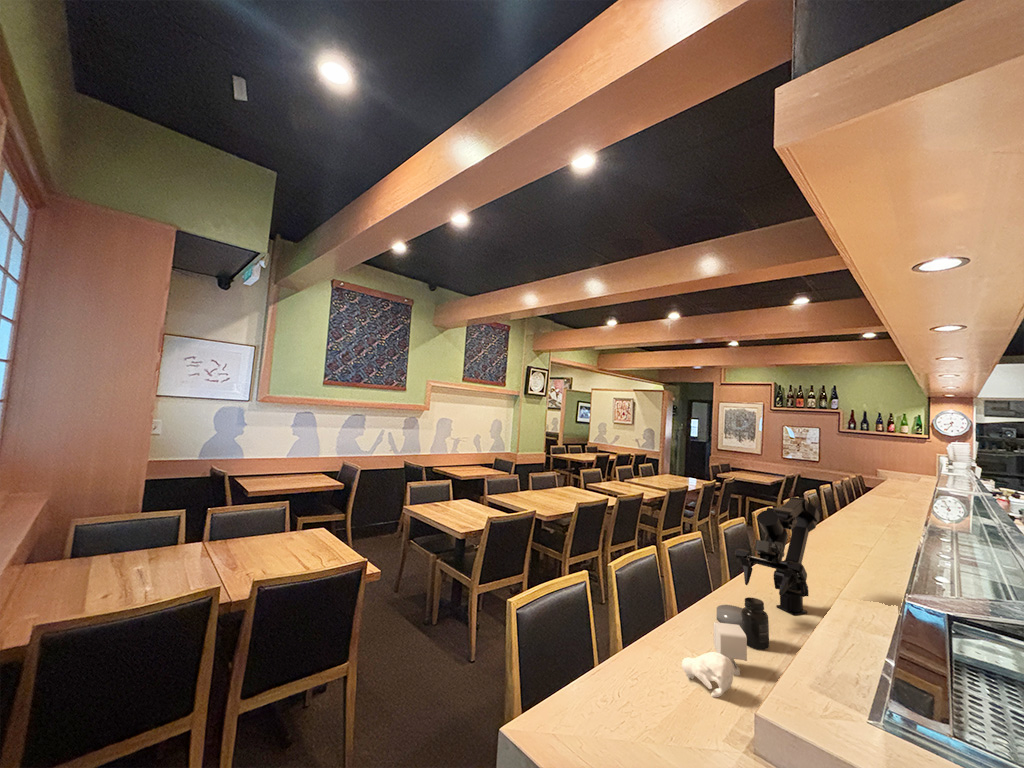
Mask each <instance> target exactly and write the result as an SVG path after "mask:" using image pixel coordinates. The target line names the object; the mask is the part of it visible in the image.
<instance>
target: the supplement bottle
mask: <svg viewBox="0 0 1024 768" xmlns="http://www.w3.org/2000/svg"><path fill="white" fill-rule="evenodd" d="M769 624H770V622H769V616H768V613H767V612H766V611H765V604H764V601H763V600H762V599H760V598H757V597H752V596H751V597H745V598H744V606H743V609H742V610H741V626H742V630H743V631H744V633H745V634H746V637H747V647H749V648H751V649H754V650H759V651H760V650H761V651H766V650H768V649H769V647H770V626H769Z"/></svg>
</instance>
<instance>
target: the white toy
mask: <svg viewBox="0 0 1024 768" xmlns="http://www.w3.org/2000/svg"><path fill="white" fill-rule="evenodd" d="M681 669H682V670H683V671H684V673H685V675H686V677H687V680H691V679H692V680H693V679H695V677H696V678H697V680H698V679H699V681H700V682H702V683H703V685H704V686H705V687H707V689H709V690H712V689H713V685H712V683H711V682H713V681H714V682H715V683H717V685H718V686H717V687H718V688H717V687H716V688H714V689H713V691H712V692H711V694H710V695H711V696H710V697H713V698H715V699H716V698H719V697H721V696H722V695H723V694H725V692H726V691H728V690H729V689H730V688H731V686H732V684H733V681H734V680H733V679H734V675H733V674H734V671H735V669H734V667H733V664H732V662H731V660H730V659H729V658H727V657H726V656H724V655H722V654H720V653H717V651H709V652H707V653H706V652H705V653H703V654H700V655H698V656H697V657H694V658H693V657H689V656H687V657H685V658H683V659H682V662H681Z"/></svg>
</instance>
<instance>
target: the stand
mask: <svg viewBox="0 0 1024 768" xmlns="http://www.w3.org/2000/svg"><path fill="white" fill-rule="evenodd" d="M743 608H744V607H743ZM743 608H742V607H741V606H740V607H739V606H737V605H733V604H719V605H718V606H717V607H716V620H717V622H719V623H727V624H736V625H740V627H741V628H742V626H741V610H742V609H743Z"/></svg>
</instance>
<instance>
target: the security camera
mask: <svg viewBox="0 0 1024 768" xmlns="http://www.w3.org/2000/svg"><path fill="white" fill-rule="evenodd" d="M713 646H714V649H715V652H717V653H720V654H722V655H724V656H726V657H727V658H729V659H730V660H731V662H732V664H733V667H734V669H735V671H734V674H733V676H737V677H738V676H741V669H740V668H739V667H738V664H737V663H736V661H735V660H740V661H745V662H747V661H748V646H747V637H746V634H745V633H744V631H743V630H742V628H741V627H740V625H736V624H727V623H720V622H719V621H717V622H716V621H714V622H713Z"/></svg>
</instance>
